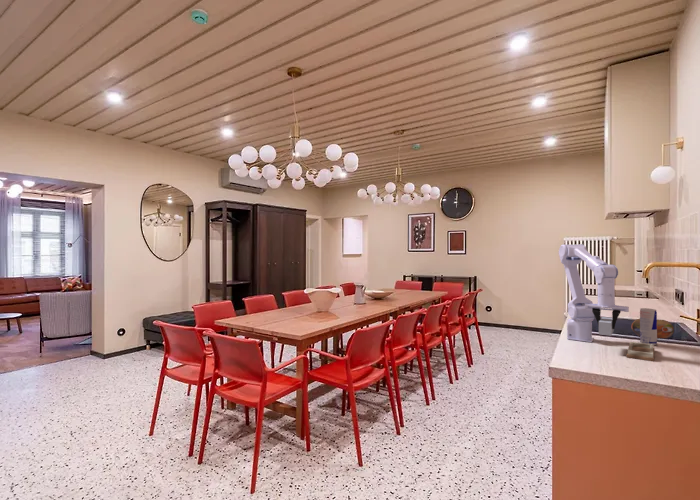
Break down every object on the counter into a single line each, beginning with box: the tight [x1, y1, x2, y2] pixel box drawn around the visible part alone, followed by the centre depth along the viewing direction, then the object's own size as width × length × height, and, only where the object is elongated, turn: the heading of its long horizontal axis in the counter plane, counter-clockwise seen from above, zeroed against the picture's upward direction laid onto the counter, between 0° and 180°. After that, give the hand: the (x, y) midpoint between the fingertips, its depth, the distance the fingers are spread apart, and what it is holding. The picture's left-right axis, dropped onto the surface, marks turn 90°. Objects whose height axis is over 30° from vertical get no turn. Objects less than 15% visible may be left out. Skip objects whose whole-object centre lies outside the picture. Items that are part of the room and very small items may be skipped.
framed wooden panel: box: [626, 341, 655, 362], centre depth 142 cm, size 8×18×2 cm, turn 140°
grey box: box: [598, 316, 615, 336], centre depth 148 cm, size 4×12×5 cm, turn 140°
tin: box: [631, 318, 675, 339], centre depth 167 cm, size 15×3×8 cm, turn 62°
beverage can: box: [639, 307, 658, 346], centre depth 156 cm, size 6×6×15 cm
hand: (606, 327), depth 148 cm, fingers closed on grey box, 4 cm apart
